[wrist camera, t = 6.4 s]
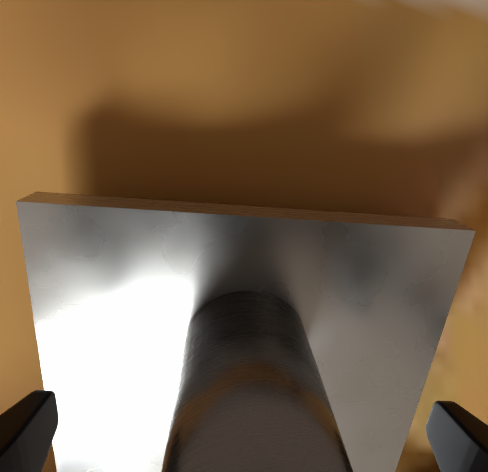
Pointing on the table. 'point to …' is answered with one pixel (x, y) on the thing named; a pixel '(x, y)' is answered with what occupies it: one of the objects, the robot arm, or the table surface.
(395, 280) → the grey flat plate
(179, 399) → the black peg
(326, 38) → the table surface
